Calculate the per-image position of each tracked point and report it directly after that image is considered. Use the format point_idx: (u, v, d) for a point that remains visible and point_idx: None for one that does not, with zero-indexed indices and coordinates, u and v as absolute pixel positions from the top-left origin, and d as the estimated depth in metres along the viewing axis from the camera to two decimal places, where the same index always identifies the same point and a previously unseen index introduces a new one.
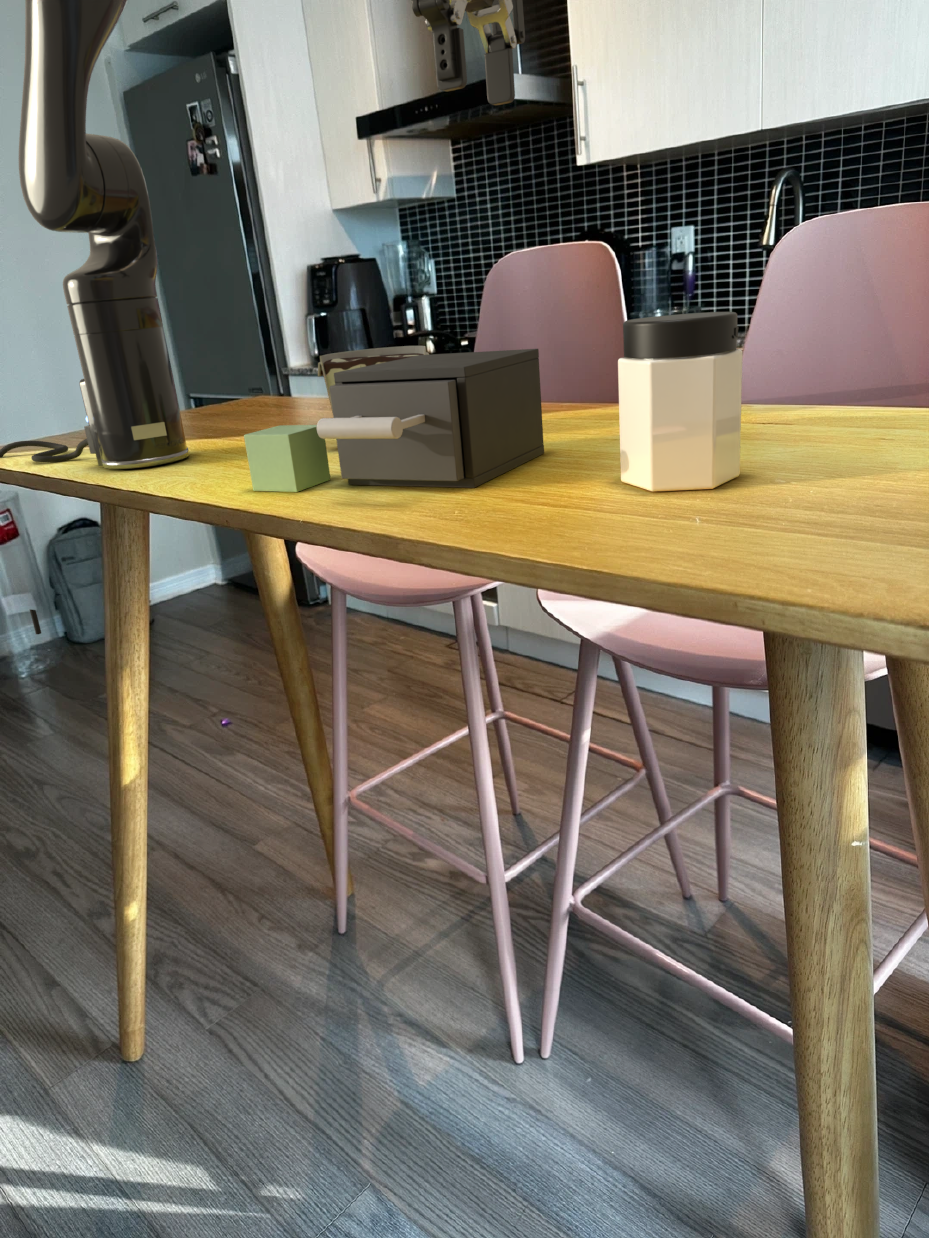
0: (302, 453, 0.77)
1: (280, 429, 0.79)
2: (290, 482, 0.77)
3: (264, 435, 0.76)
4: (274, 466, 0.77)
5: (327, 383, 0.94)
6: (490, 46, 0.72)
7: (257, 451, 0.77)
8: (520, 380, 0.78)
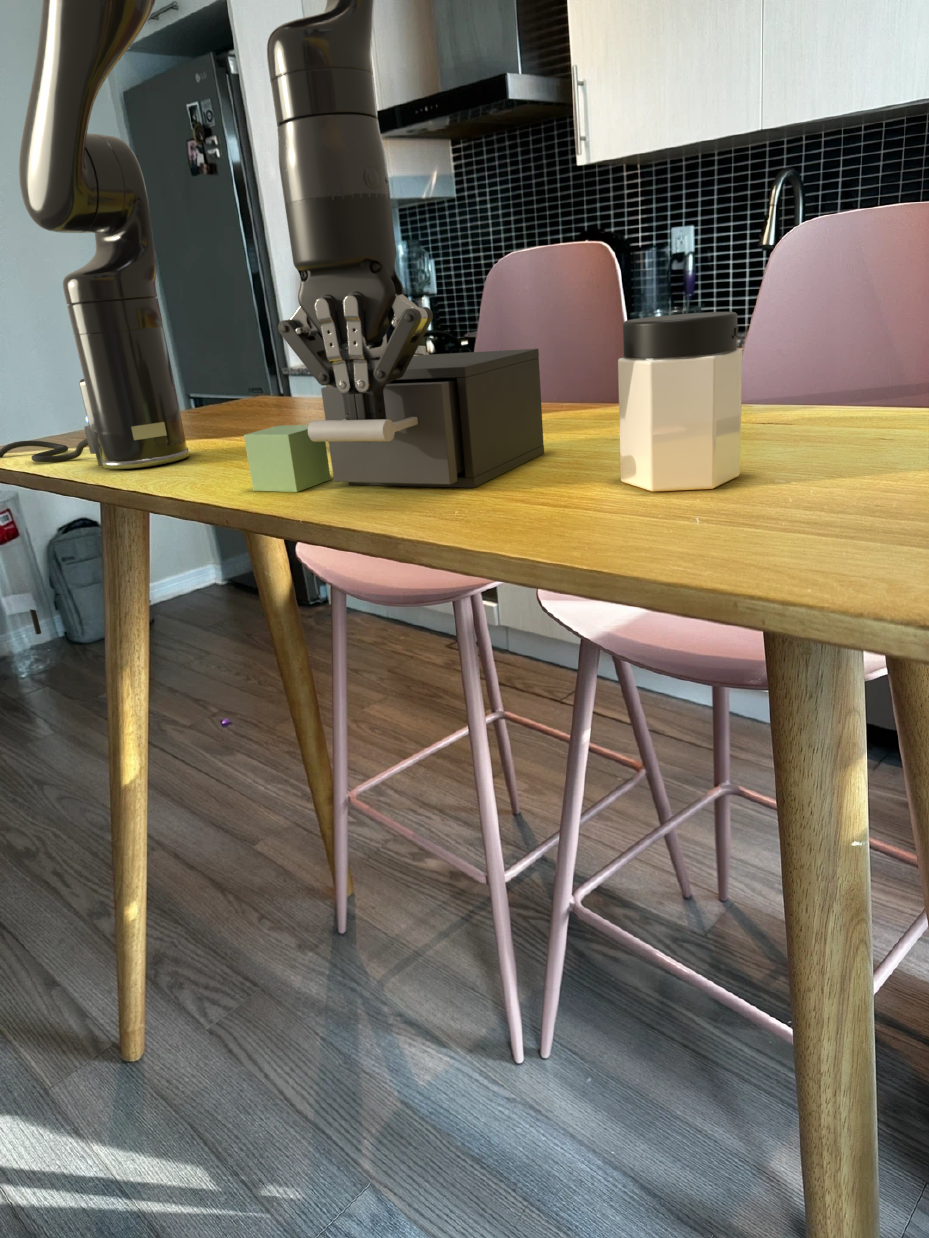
0: (302, 453, 0.77)
1: (280, 429, 0.79)
2: (290, 482, 0.77)
3: (264, 435, 0.76)
4: (274, 466, 0.77)
5: None
6: None
7: (257, 451, 0.77)
8: (520, 380, 0.78)
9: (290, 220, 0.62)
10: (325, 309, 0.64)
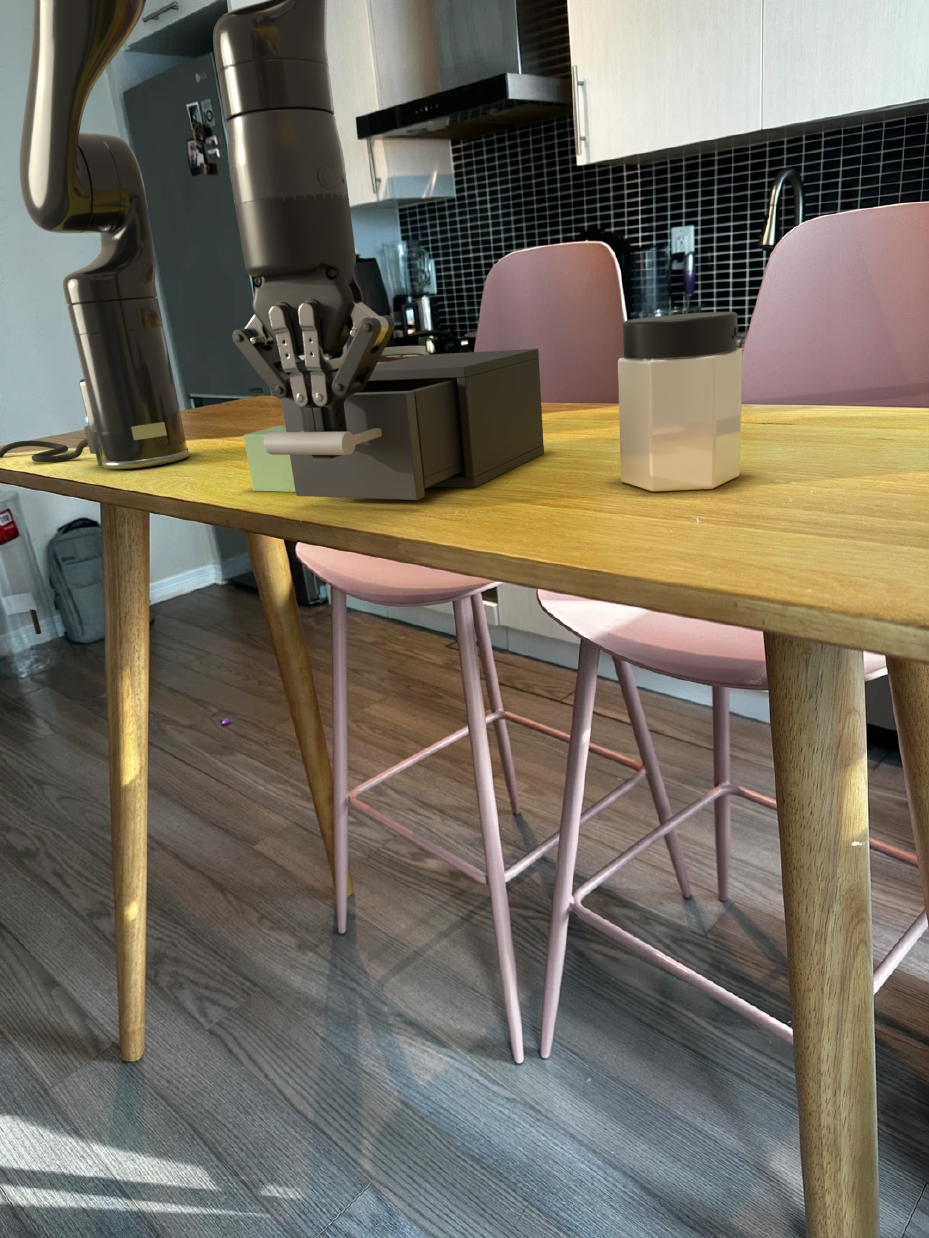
0: None
1: (280, 429, 0.79)
2: (290, 482, 0.77)
3: (264, 435, 0.76)
4: (274, 466, 0.77)
5: None
6: None
7: (257, 451, 0.77)
8: (520, 380, 0.78)
9: (240, 223, 0.58)
10: (280, 318, 0.60)
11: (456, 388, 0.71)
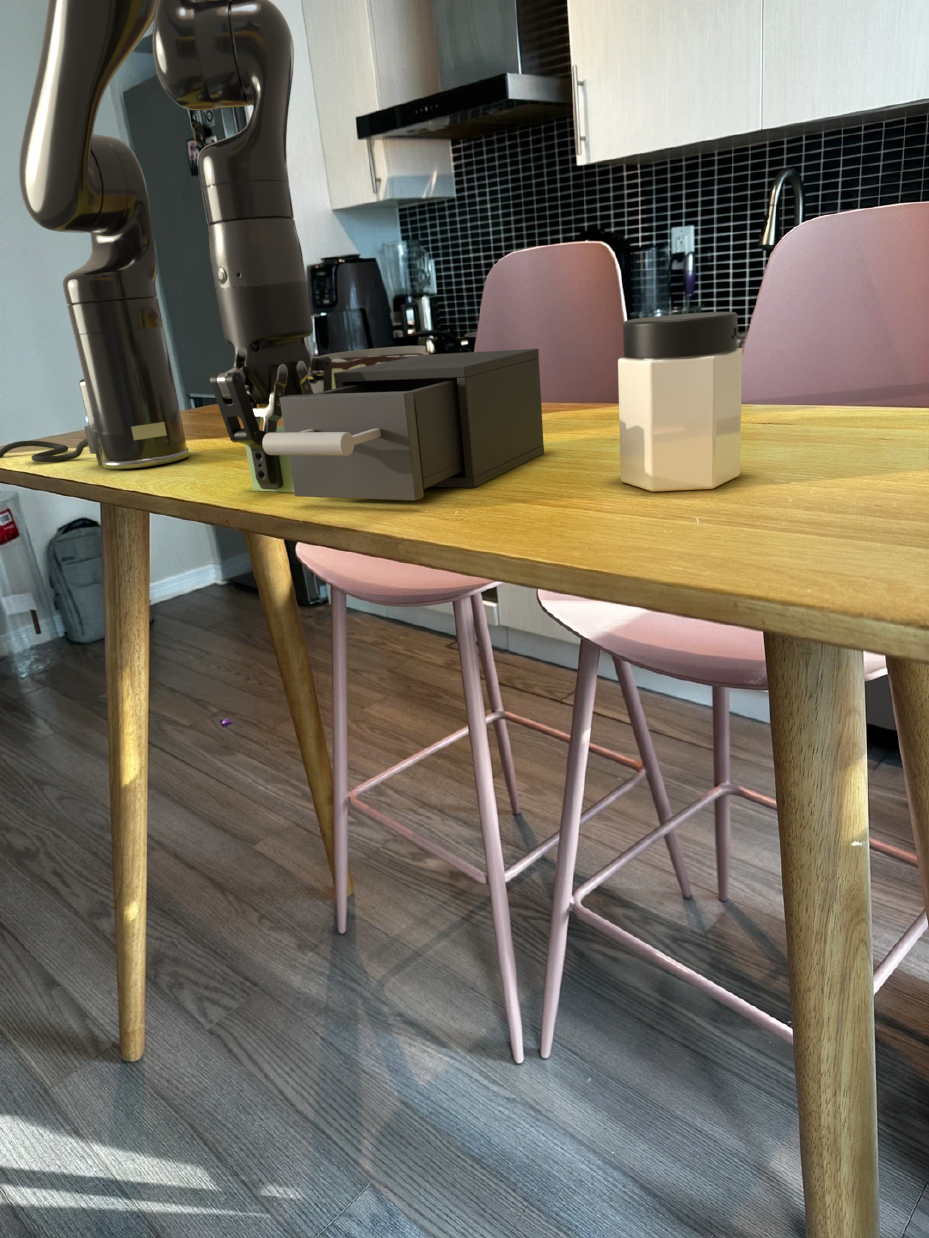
0: None
1: (280, 429, 0.79)
2: (290, 482, 0.77)
3: None
4: None
5: None
6: None
7: None
8: (520, 380, 0.78)
9: None
10: None
11: (455, 388, 0.71)
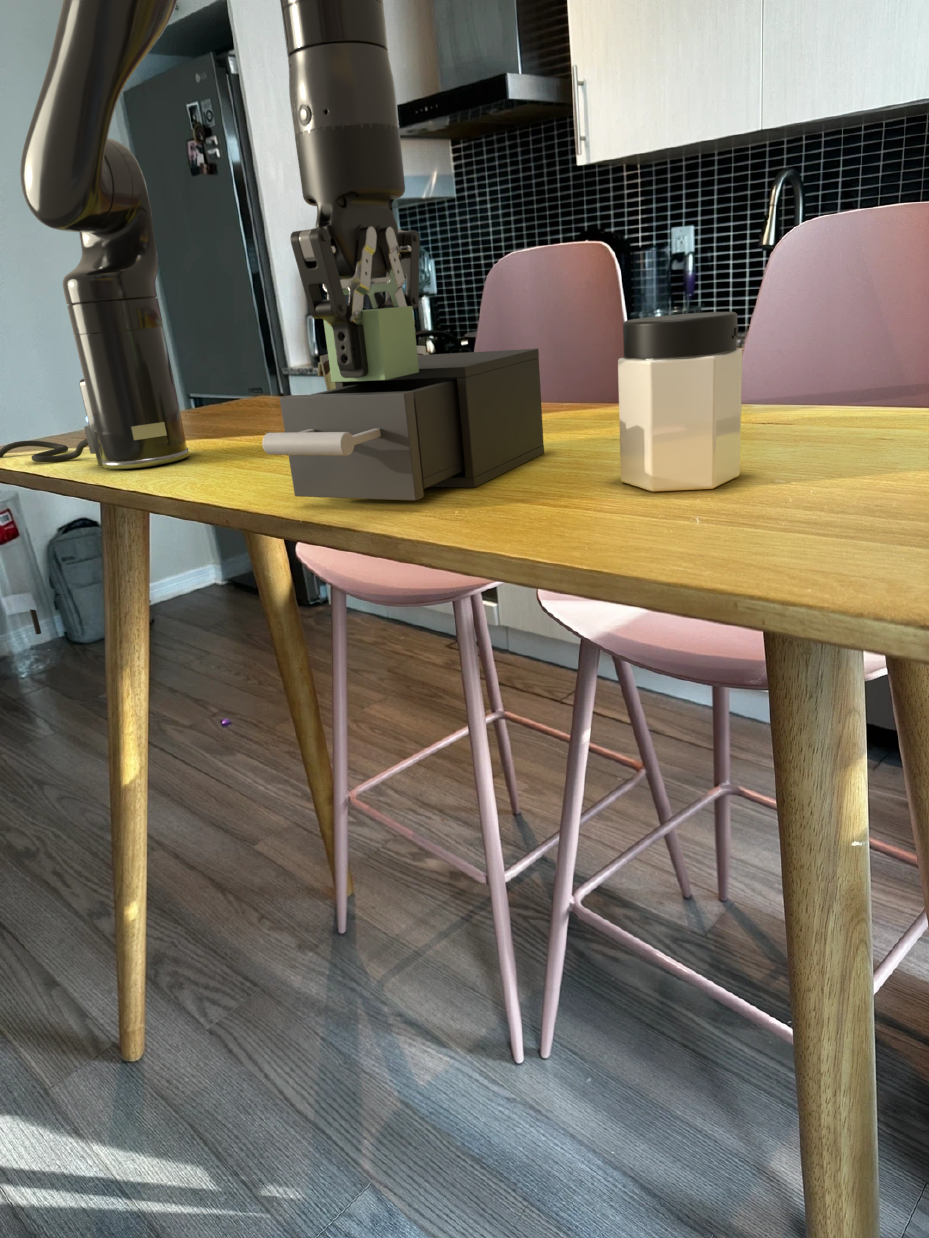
0: (391, 335, 0.66)
1: (364, 310, 0.68)
2: (377, 368, 0.66)
3: None
4: None
5: (327, 383, 0.94)
6: None
7: None
8: (520, 380, 0.78)
9: None
10: None
11: (455, 388, 0.71)
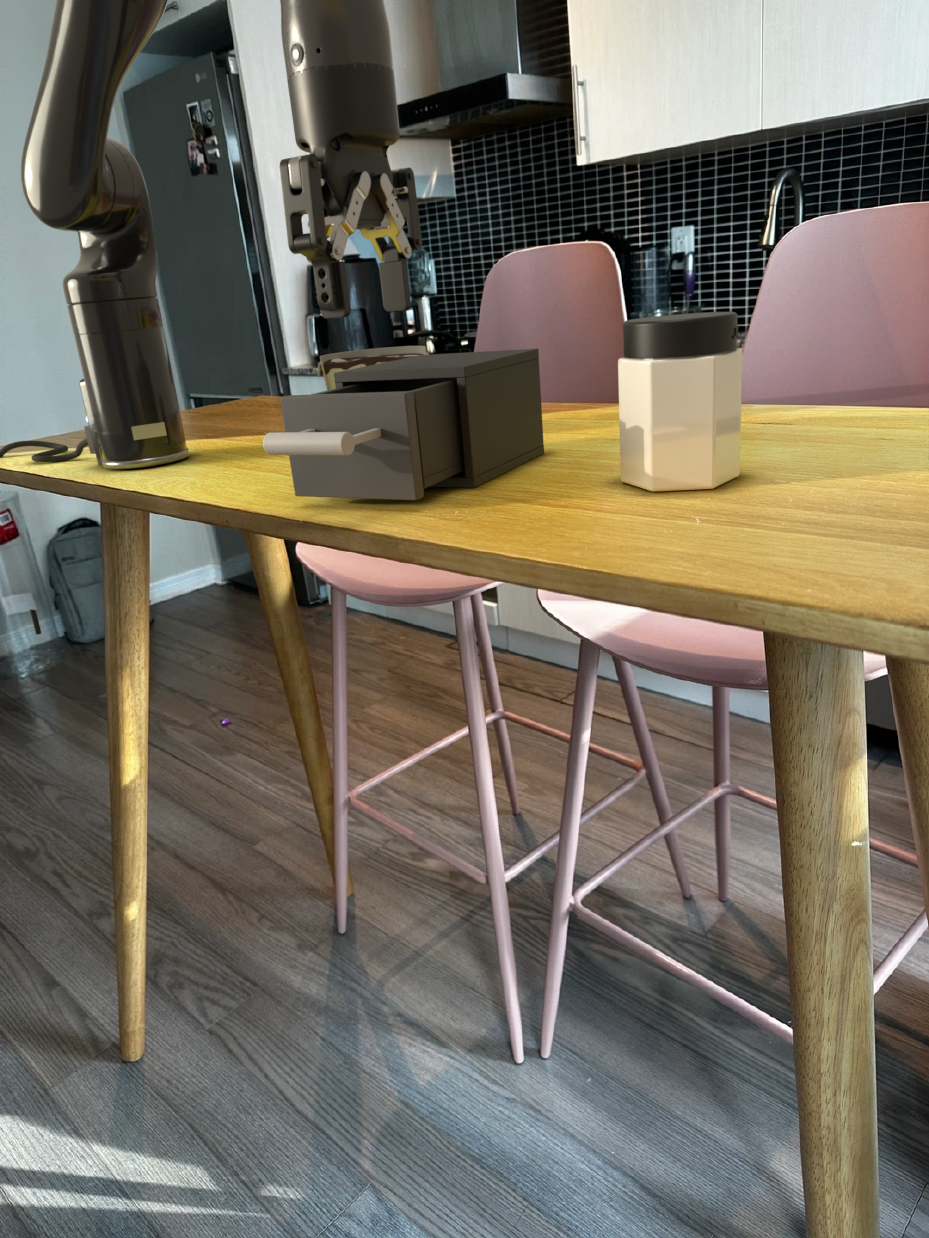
0: None
1: None
2: None
3: None
4: None
5: (327, 383, 0.94)
6: None
7: None
8: (520, 380, 0.78)
9: None
10: None
11: (456, 388, 0.71)
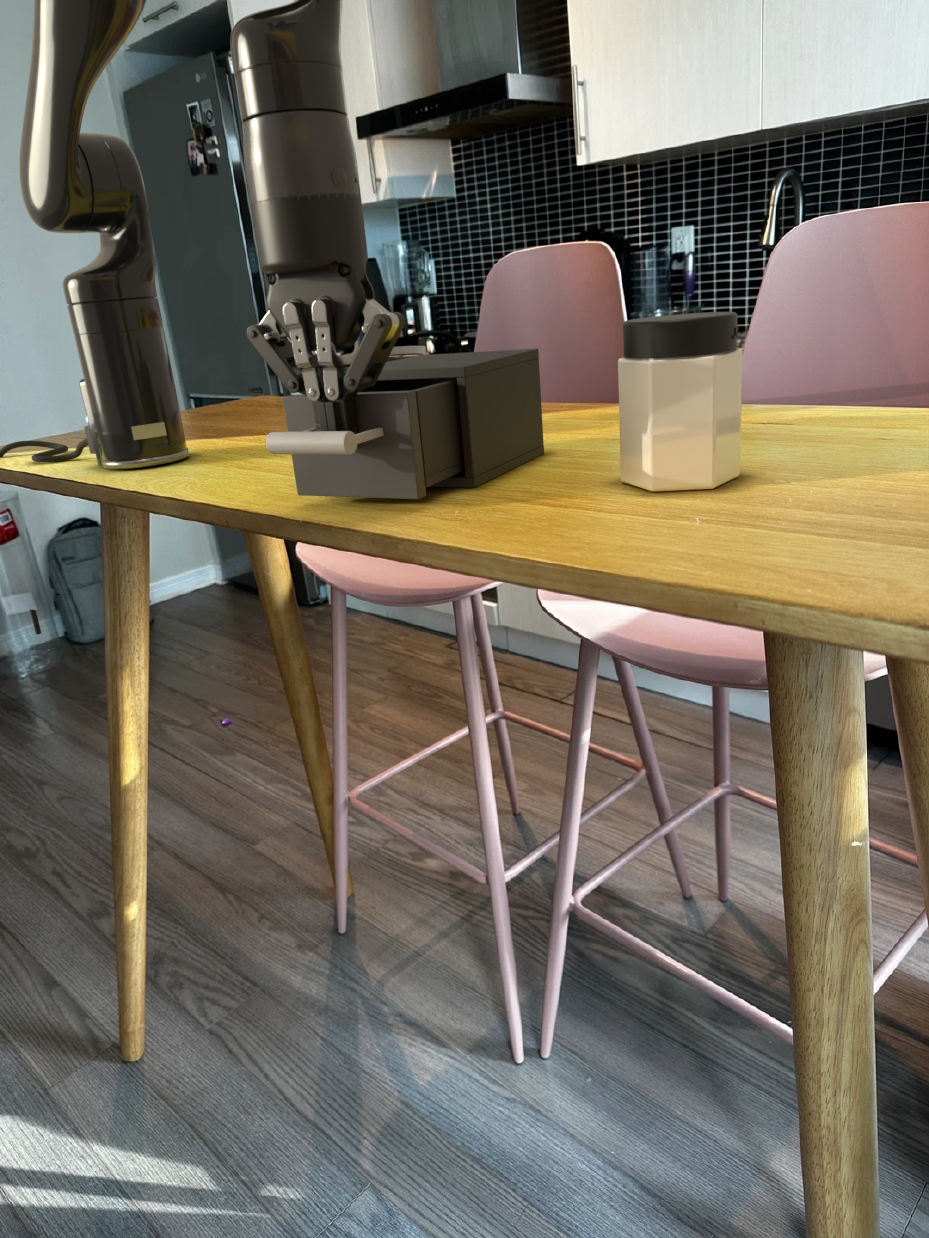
0: None
1: None
2: None
3: None
4: None
5: None
6: None
7: None
8: (520, 380, 0.78)
9: (255, 221, 0.59)
10: (293, 314, 0.62)
11: None
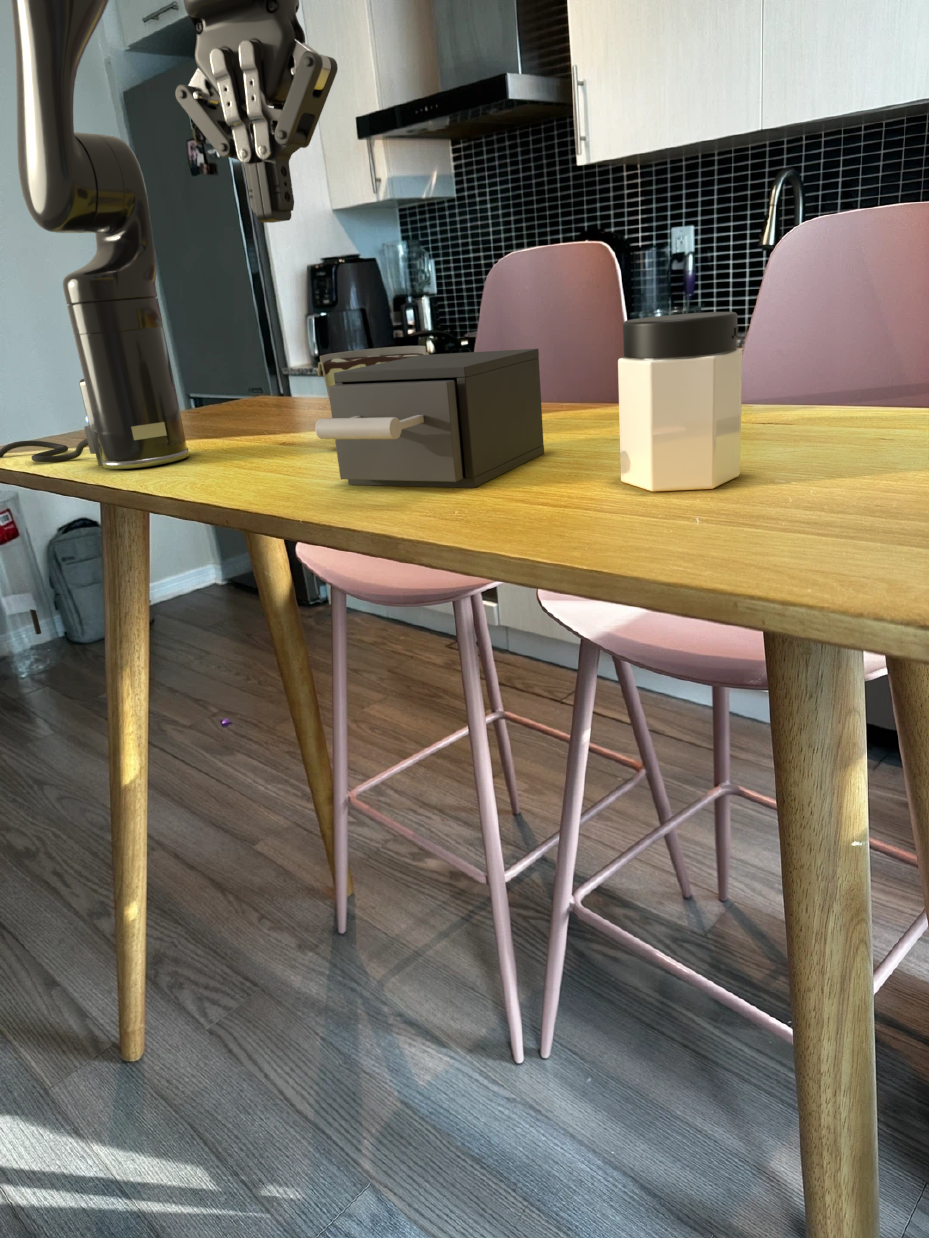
0: None
1: None
2: None
3: None
4: None
5: (327, 383, 0.94)
6: None
7: None
8: (520, 380, 0.78)
9: None
10: (220, 61, 0.59)
11: None
